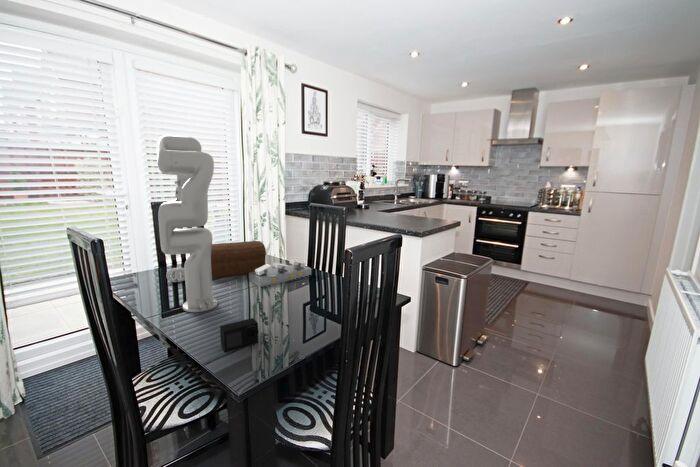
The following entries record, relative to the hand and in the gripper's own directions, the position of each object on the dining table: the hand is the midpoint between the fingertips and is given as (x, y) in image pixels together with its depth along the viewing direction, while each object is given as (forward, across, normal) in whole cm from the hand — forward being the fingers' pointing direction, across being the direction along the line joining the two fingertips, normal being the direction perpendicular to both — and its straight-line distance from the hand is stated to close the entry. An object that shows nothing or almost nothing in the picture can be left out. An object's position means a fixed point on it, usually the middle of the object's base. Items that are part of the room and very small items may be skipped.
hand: (188, 218), depth 154 cm
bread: (+30, +18, -9) cm, 36 cm away
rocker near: (+24, +17, -34) cm, 44 cm away
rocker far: (+24, +35, -39) cm, 57 cm away
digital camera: (+29, -28, -72) cm, 83 cm away
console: (+30, +26, -36) cm, 53 cm away
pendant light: (+30, -8, 0) cm, 31 cm away
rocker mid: (+24, +26, -36) cm, 50 cm away
